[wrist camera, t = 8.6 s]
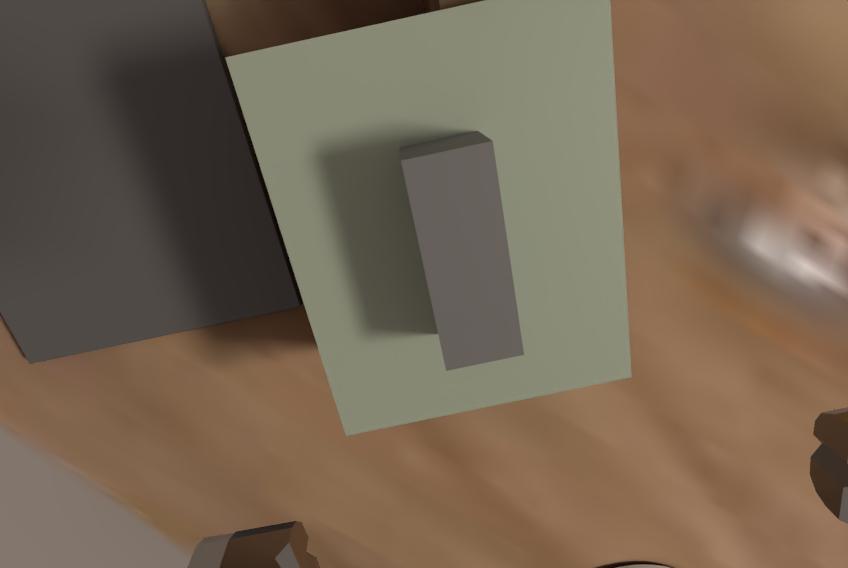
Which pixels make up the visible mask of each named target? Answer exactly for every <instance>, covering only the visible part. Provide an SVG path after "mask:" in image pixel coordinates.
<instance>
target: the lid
mask: <svg viewBox="0 0 848 568" xmlns="http://www.w3.org/2000/svg"><path fill="white" fill-rule="evenodd" d="M225 59H226V62H227V65H228V68H229V71H230V74H231V77H232V81H233V84H234V87H235V90H236V93H237V96H238V99H239V102H240V106H241V109H242V112H243V115H244V118H245V121H246V124H247V127H248V131H249V134H250V137H251V140H252V143H253V146H254V149H255V153H256V156H257V159H258V162H259V165H260V168H261V171H262V174H263V178H264V181H265V184H266V187H267V190H268V193H269V196H270V199H271V203H272V206H273V209H274V212H275V215H276V218H277V221H278V225H279V228H280V231H281V234H282V237H283V240H284V243H285V246H286V250H287V253H288V256H289V259H290V262H291V265H292V268H293V271H294V275H295V278H296V281H297V284H298V287H299V290H300V293H301V297H302V300H303V303H304V306H305V309H306V312H307V315H308V318H309V322H310V325H311V328H312V331H313V334H314V337H315V340H316V343H317V347H318V350H319V353H320V356H321V359H322V362H323V365H324V368H325V372H326V375H327V378H328V381H329V384H330V387H331V390H332V394H333V397H334V400H335V403H336V406H337V409H338V412H339V415H340V419H341V422H342V425H343V428H344V431H345V434H346V436H348V435H353V434H357V433H362V432H367V431H372V430H377V429H382V428H387V427H392V426H396V425H401V424H406V423H411V422H416V421H421V420H426V419H430V418H435V417H440V416H445V415H450V414H455V413H460V412H464V411H469V410H474V409H479V408H484V407H489V406H494V405H499V404H503V403H508V402H513V401H518V400H523V399H528V398H533V397H537V396H542V395H547V394H552V393H557V392H562V391H567V390H571V389H576V388H581V387H586V386H591V385H596V384H601V383H605V382H610V381H615V380H620V379H625V378H630V377H631V360H630V342H629V324H628V307H627V289H626V271H625V253H624V236H623V218H622V200H621V183H620V165H619V147H618V130H617V112H616V94H615V77H614V59H613V41H612V24H611V6H610V0H484V1H479V2H475V3H470V4H466V5H461V6H457V7H452V8H448V9H443V10H439V11H434V12H429V13H425V14H420V15H416V16H411V17H407V18H402V19H398V20H393V21H389V22H384V23H379V24H375V25H370V26H366V27H361V28H357V29H352V30H348V31H343V32H339V33H334V34H329V35H325V36H320V37H316V38H311V39H307V40H302V41H298V42H293V43H289V44H284V45H280V46H275V47H270V48H266V49H261V50H257V51H252V52H248V53H243V54H239V55H234V56H230V57H225Z"/></svg>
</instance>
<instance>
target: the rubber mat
mask: <svg viewBox="0 0 848 568" xmlns="http://www.w3.org/2000/svg"><path fill="white" fill-rule="evenodd" d="M301 304H302V301H301V298H300V295H299V292H298V289H297V286H296V283H295V280H294V276H293V273H292V270H291V267H290V264H289V261H288V258H287V255H286V251H285V248H284V245H283V242H282V239H281V236H280V233H279V230H278V227H277V223H276V220H275V217H274V214H273V211H272V208H271V205H270V202H269V198H268V195H267V192H266V189H265V186H264V183H263V180H262V177H261V174H260V170H259V167H258V164H257V161H256V158H255V155H254V152H253V149H252V145H251V142H250V139H249V136H248V133H247V130H246V127H245V124H244V121H243V117H242V114H241V111H240V108H239V105H238V102H237V99H236V96H235V92H234V89H233V86H232V83H231V80H230V77H229V74H228V71H227V68H226V64H225V61H224V58H223V55H222V52H221V49H220V46H219V43H218V39H217V36H216V33H215V30H214V27H213V24H212V21H211V18H210V15H209V11H208V8H207V5H206V2H205V0H0V313H1V314H2V316H3V318H4V320H5V321H6V323H7V325H8V327H9V328H10V330H11V332H12V334H13V335H14V337H15V339H16V341H17V342H18V344H19V346H20V348H21V349H22V351H23V353H24V355H25V357H26V358H27V360H28V362H29V364H31V363H36V362H41V361H45V360H50V359H55V358H60V357H64V356H69V355H74V354H79V353H83V352H88V351H93V350H98V349H102V348H107V347H112V346H117V345H121V344H126V343H131V342H136V341H140V340H145V339H150V338H155V337H159V336H164V335H169V334H174V333H178V332H183V331H188V330H193V329H197V328H202V327H207V326H212V325H216V324H221V323H226V322H231V321H235V320H240V319H245V318H250V317H254V316H259V315H264V314H269V313H273V312H278V311H283V310H288V309H292V308H297V307H300V306H301Z"/></svg>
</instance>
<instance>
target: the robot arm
mask: <svg viewBox="0 0 848 568" xmlns="http://www.w3.org/2000/svg"><path fill="white" fill-rule="evenodd" d="M813 434H814V436H815V437H816V438H817V439H818V440H819V441H820V442H821V443H822V444H821V445H820V446H819V448H818V449H817V450H816V451H815V452H814V454H813V455H812V456H811V461H810V476H811V479H812V482H813V484H814V487H815V490H816V492H817V494H818V495H819V497H820V498H821V500H822V501H823V503H824V504H825V506H826V507H827V508H828V509H829V510H830V511H831V512H832V513H833V514H834V515H835V516H836V517H837V518H838V519H839V520H841V521H843V522H845V523H848V407H847V408H842V409H837V410H833V411H828V412H823V413H821V414H820V415H819V417H818V418H817V419H816V420H815V425H814V433H813ZM307 543H308V535H307V533H306V531H305V529H304V526H303V524H302V522H298V521H294V522H288V523H282V524H277V525H271V526H266V527H260V528H254V529H249V530H243V531H238V532H235V533H231V534H225V535H219V536H213V537H208V538H204V539H203V540H202V541H201V542H200V543H199V544H198V545H197V547H196V548H195V551H194V553H193V556H192V558H191V561H190V563H189V566H188V568H320V566H319V563H318V561H317V558H316V557H314V556H313V555H311V554H309V553H308V552H306V550H307ZM616 568H670V567H665V566H659V565H646V564H643V565H628V566H621V567H616Z"/></svg>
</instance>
